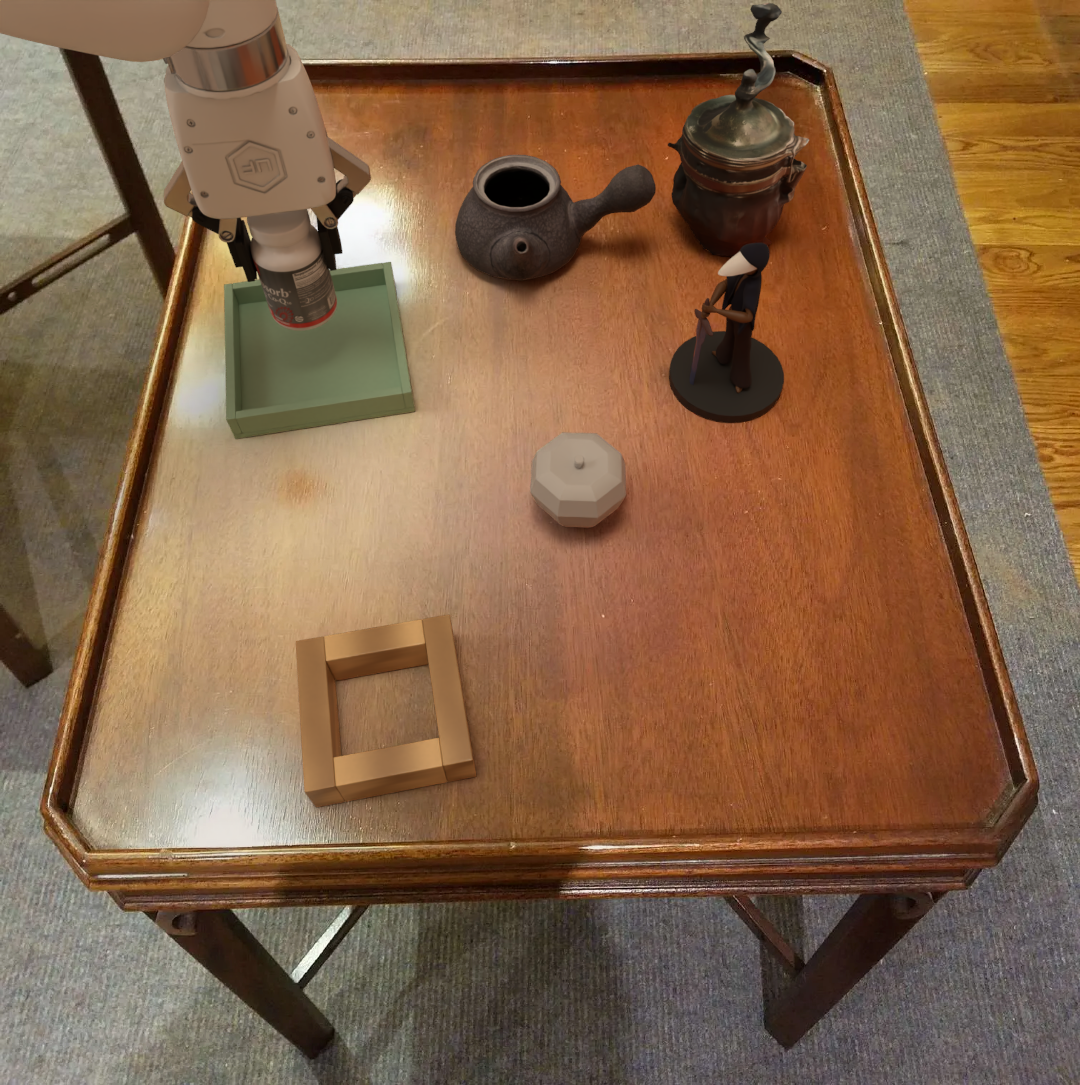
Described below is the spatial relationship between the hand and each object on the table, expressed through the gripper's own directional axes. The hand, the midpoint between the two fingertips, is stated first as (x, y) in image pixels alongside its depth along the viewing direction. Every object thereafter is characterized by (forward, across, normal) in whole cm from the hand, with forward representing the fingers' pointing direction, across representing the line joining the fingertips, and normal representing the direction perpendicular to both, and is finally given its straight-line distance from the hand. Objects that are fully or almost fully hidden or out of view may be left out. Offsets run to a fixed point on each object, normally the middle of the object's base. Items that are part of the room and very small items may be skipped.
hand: (291, 262), depth 74 cm
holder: (+11, +2, -36) cm, 38 cm away
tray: (+11, 0, 0) cm, 11 cm away
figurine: (+11, +36, -10) cm, 38 cm away
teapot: (+11, +24, +9) cm, 27 cm away
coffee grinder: (+11, +42, +11) cm, 44 cm away
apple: (+11, +20, -21) cm, 31 cm away
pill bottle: (+5, 0, 0) cm, 5 cm away
